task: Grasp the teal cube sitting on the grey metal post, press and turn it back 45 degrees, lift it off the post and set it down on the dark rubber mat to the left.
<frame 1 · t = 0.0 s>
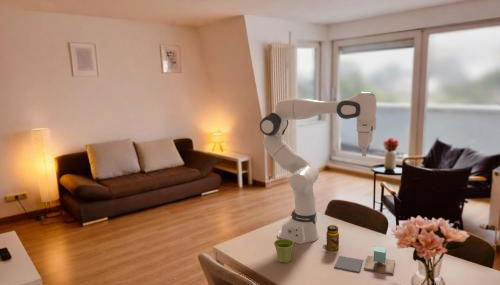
hand: (365, 154, 170), 48 cm above the table, fingers open, 8 cm apart
plant pot: (284, 260, 168), on the table
post: (379, 265, 159), on the table
teal cube: (379, 259, 159), point 3 cm above the table, touching post
condiment: (330, 249, 177), on the table
mat: (348, 264, 161), on the table
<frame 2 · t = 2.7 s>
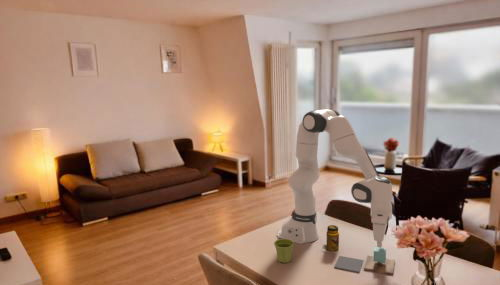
hand: (380, 242, 157), 12 cm above the table, fingers open, 8 cm apart
nothing on the table moved.
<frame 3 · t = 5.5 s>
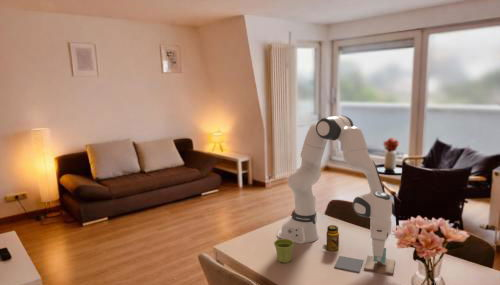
hand: (379, 256, 159), 4 cm above the table, fingers closed on teal cube, 5 cm apart
teal cube: (379, 259, 159), point 3 cm above the table, touching gripper, post
everything else where it was.
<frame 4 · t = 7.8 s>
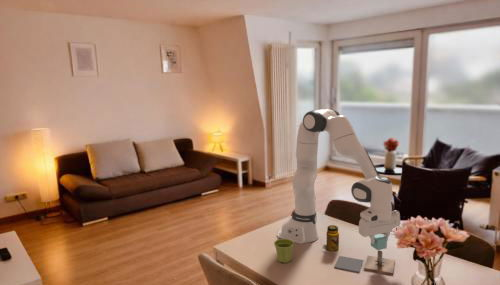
hand: (379, 242, 157), 12 cm above the table, fingers closed on teal cube, 5 cm apart
teal cube: (378, 246, 158), point 9 cm above the table, touching gripper
everything else where it was.
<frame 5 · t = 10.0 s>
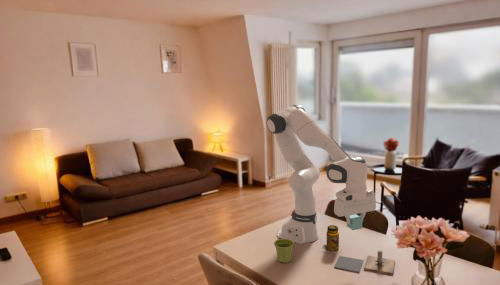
hand: (354, 222, 158), 20 cm above the table, fingers closed on teal cube, 5 cm apart
teal cube: (354, 227, 159), point 18 cm above the table, touching gripper
everything else where it was.
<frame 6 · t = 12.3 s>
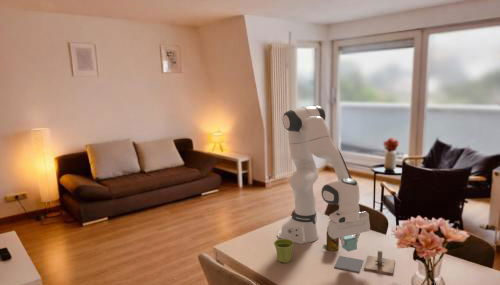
hand: (349, 243, 159), 11 cm above the table, fingers closed on teal cube, 5 cm apart
teal cube: (349, 248, 160), point 8 cm above the table, touching gripper
everything else where it was.
when the fingers open (4 cm above the table, at t = 14.4 s): teal cube stays where it is, resting on mat.
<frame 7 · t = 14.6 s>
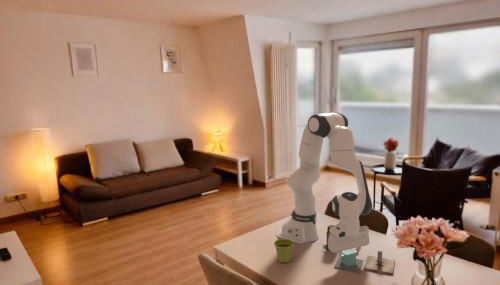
hand: (348, 256, 161), 4 cm above the table, fingers open, 7 cm apart
teal cube: (348, 263, 162), point 1 cm above the table, touching mat
everything else where it was.
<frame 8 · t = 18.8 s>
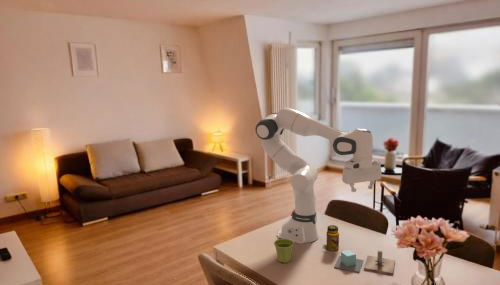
hand: (362, 190, 169), 31 cm above the table, fingers open, 8 cm apart
nothing on the table moved.
at the end: teal cube inside the target area on the mat (0.3 cm from its centre), point 0.6 cm above the mat's base; teal cube tilted 0°; teal cube touching mat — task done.
